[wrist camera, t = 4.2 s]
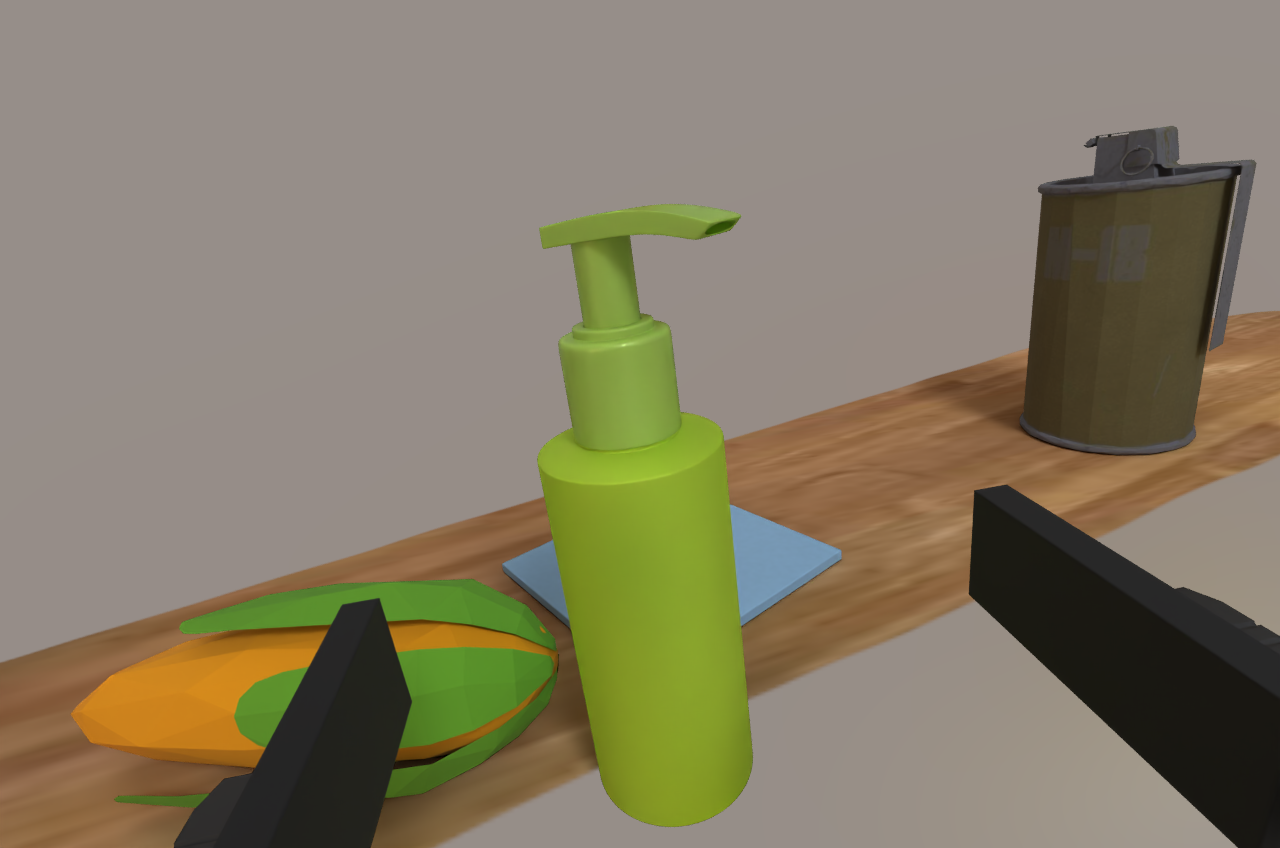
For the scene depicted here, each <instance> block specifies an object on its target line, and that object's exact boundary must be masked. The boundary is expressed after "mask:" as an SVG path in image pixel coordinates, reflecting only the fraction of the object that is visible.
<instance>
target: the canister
mask: <svg viewBox="0 0 1280 848" xmlns="http://www.w3.org/2000/svg"><path fill="white" fill-rule="evenodd" d="M1123 133H1126V132H1123ZM1115 134H1116V133H1115ZM1117 134H1119V133H1117ZM1111 135H1112V134H1108V137H1102V138H1099V136H1096V138H1093V139H1090V140H1089V141H1088V142H1087V143H1086V144H1087V145H1084V146H1085V147H1087V148H1089V147H1093V146H1097V150H1096V159H1095V168H1094V175H1093V176H1086V177H1079V178H1071V179H1063V180H1058V181H1052V182H1047V183H1044V184H1041V185H1040V186H1039V187H1038V192H1040V193H1041V194H1042V201H1041V213H1040V224H1039V236H1038V248H1037V260H1036V271H1035V283H1034V295H1033V307H1032V318H1031V330H1030V342H1029V354H1028V365H1027V377H1026V389H1025V401H1024V412H1023V413H1022V415H1021V416H1020V425H1021V426H1022V427H1023V429H1025V430H1026V431H1027V432H1028V433H1029V434H1030V435H1032V436H1034V437H1036V438H1039V439H1041V440H1044V441H1046V442H1049V443H1051V444H1054V445H1057V446H1061V447H1065V448H1070V449H1074V450H1079V451H1085V452H1095V453H1104V454H1113V455H1142V454H1153V453H1158V452H1164V451H1169V450H1174V449H1178V448H1181V447H1183V446H1185V445H1187V444H1189V443H1190V442H1191V441H1192V440H1193V439H1194V438H1195V436H1196V431H1195V426H1194V419H1195V414H1196V408H1197V402H1198V396H1199V391H1200V385H1201V379H1202V373H1203V368H1204V362H1205V356H1206V351H1207V345H1208V339H1209V333H1210V328H1211V322H1212V316H1213V311H1214V305H1215V299H1216V293H1217V288H1218V282H1219V276H1220V271H1221V264H1222V259H1223V253H1224V248H1225V242H1226V236H1227V230H1228V224H1229V219H1230V213H1231V207H1232V202H1233V196H1234V190H1235V184H1236V179H1237V175H1240V174H1241V176H1240V181H1239V188H1238V193H1237V198H1236V204H1235V209H1234V215H1233V221H1232V226H1231V232H1230V237H1229V243H1228V249H1227V254H1226V259H1225V265H1224V271H1223V277H1222V282H1221V288H1220V293H1219V299H1218V304H1217V309H1216V315H1215V321H1214V326H1213V332H1212V337H1211V343H1210V348H1209V351H1211V350H1212V349H1214V348H1216V347H1218V346H1219V345H1221V344H1223V340H1224V334H1225V329H1226V323H1227V318H1228V312H1229V307H1230V302H1231V296H1232V291H1233V286H1234V280H1235V275H1236V270H1237V264H1238V259H1239V254H1240V248H1241V243H1242V237H1243V232H1244V227H1245V221H1246V216H1247V211H1248V205H1249V200H1250V194H1251V189H1252V184H1253V178H1254V173H1255V168H1256V162H1255V161H1254V160H1241V161H1228V162H1214V163H1201V164H1188V165H1180V164H1178V163H1177V162H1176V161H1177V160H1178V159H1179V146H1178V130H1177V128H1176V127H1174V126H1169V127H1161V128H1154V129H1146V130H1138V131H1131V132H1129V134H1127V135H1119V136H1112V137H1111ZM1102 136H1103V135H1102ZM1233 163H1239V164H1241V165H1239V164H1233Z"/></svg>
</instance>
